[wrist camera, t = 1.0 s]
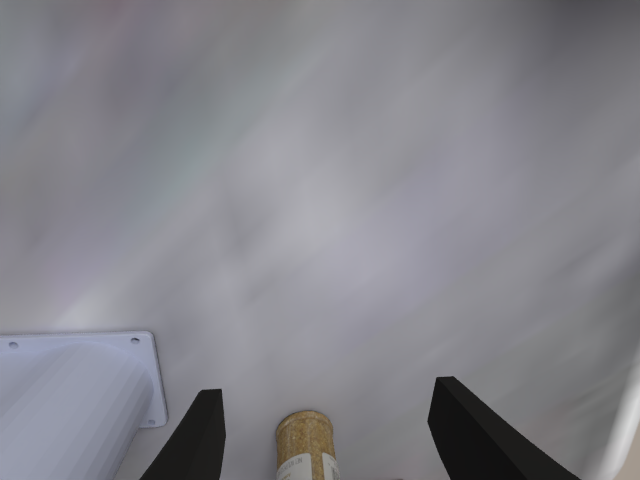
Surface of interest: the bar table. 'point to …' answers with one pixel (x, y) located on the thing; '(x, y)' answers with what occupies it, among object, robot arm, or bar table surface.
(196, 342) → the bar table surface
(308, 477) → the sprinkles bottle
